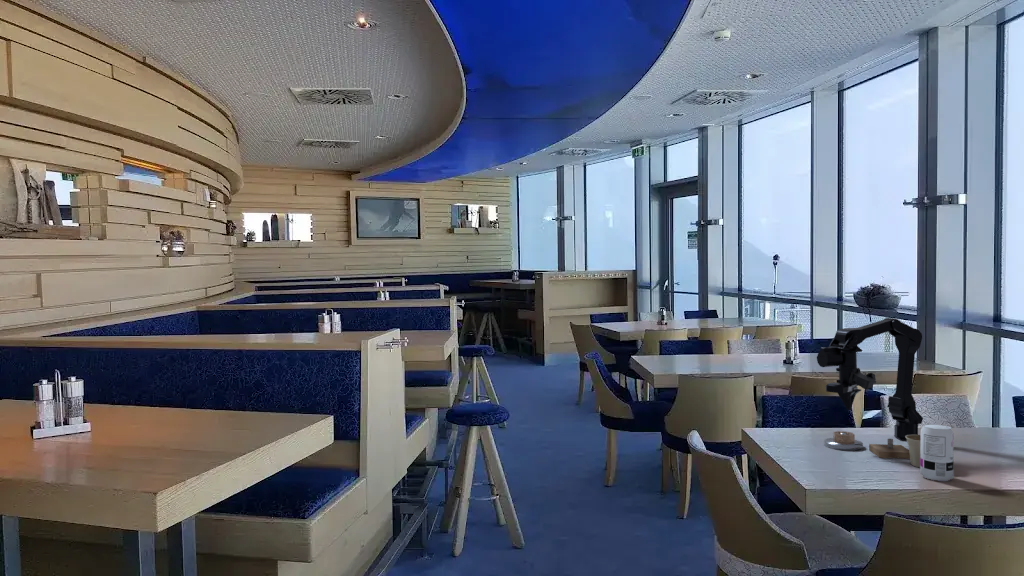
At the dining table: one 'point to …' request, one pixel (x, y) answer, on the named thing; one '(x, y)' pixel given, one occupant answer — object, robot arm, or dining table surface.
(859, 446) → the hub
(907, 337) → the robot arm
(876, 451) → the stand
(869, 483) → the dining table surface
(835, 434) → the octagonal wooden ring
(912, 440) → the flower pot
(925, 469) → the supplement can
